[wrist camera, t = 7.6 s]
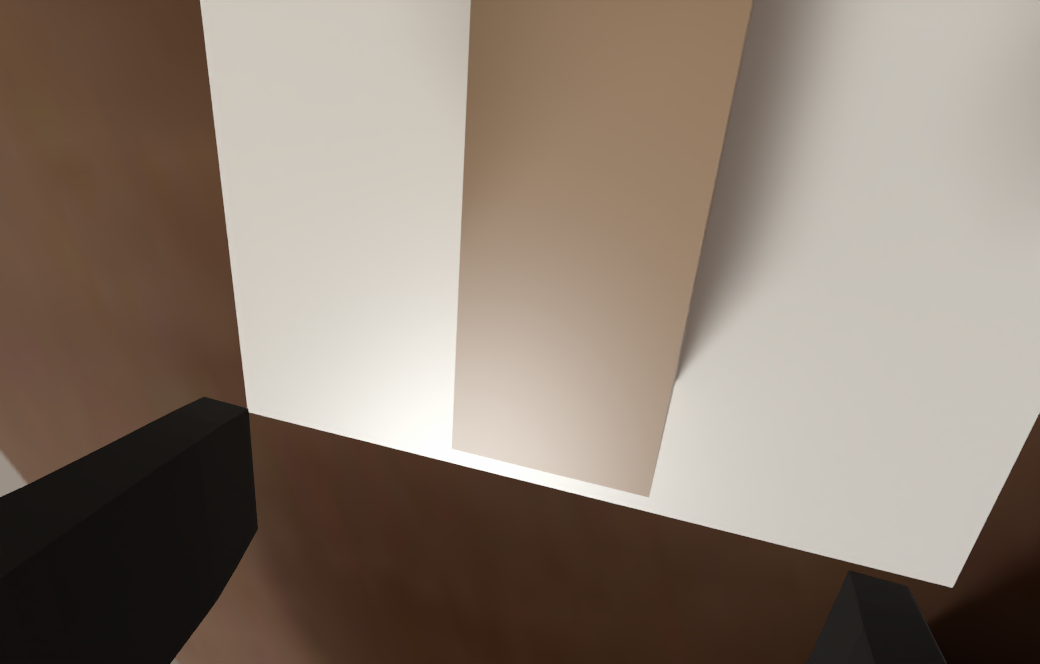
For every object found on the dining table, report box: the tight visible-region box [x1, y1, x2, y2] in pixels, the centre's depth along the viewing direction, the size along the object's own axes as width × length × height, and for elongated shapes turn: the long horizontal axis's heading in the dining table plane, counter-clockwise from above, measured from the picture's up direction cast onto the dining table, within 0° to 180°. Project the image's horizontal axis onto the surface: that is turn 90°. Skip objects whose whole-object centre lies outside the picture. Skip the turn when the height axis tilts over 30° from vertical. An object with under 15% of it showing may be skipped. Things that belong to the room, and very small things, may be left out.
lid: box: [200, 0, 1040, 588], centre depth 12 cm, size 14×14×4 cm
